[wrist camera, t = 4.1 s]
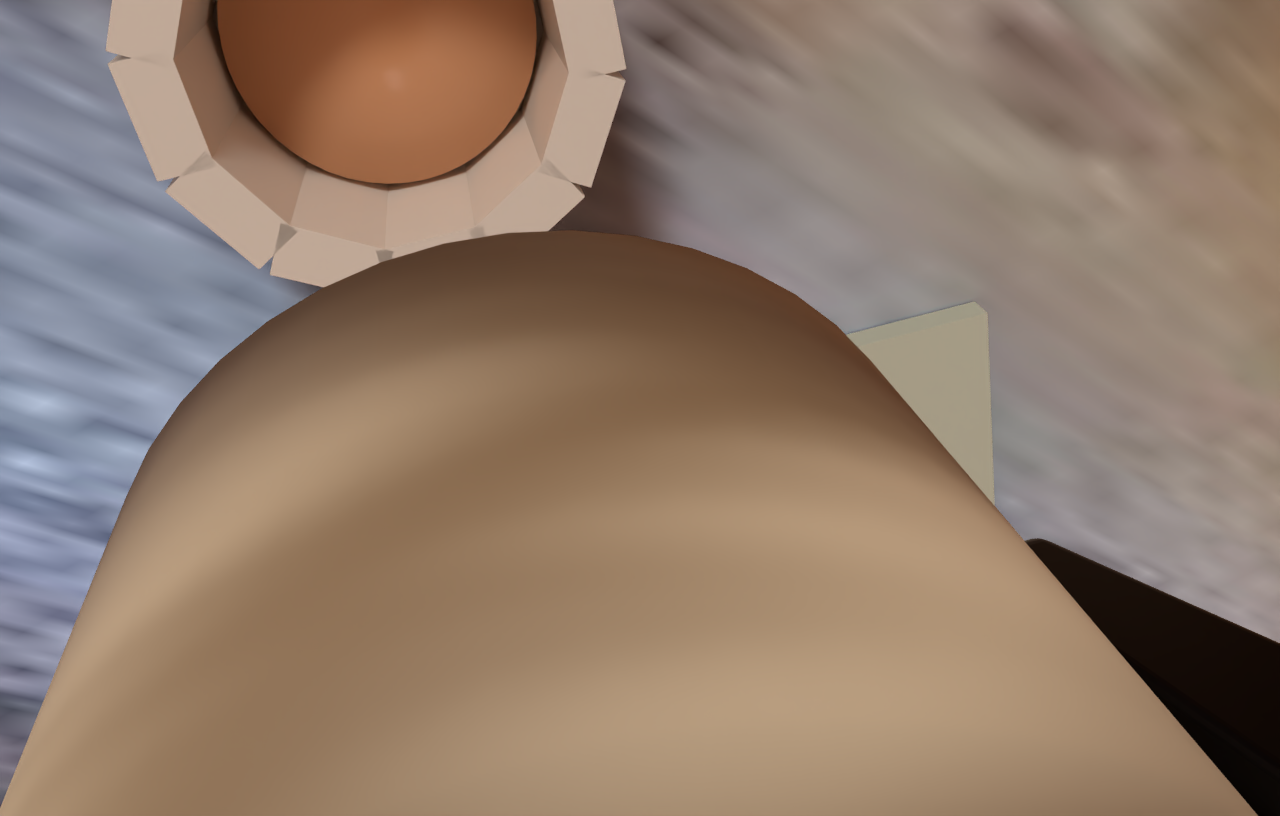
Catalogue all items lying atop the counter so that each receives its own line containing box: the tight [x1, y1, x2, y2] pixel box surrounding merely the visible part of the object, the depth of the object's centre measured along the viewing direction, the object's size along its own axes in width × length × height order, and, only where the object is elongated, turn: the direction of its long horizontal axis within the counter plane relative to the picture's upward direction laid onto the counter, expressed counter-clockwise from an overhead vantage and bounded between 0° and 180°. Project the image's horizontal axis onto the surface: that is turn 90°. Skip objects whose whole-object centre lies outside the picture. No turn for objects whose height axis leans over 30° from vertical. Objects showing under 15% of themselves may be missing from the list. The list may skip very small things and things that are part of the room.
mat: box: [846, 302, 995, 506], centre depth 25 cm, size 12×12×1 cm
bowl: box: [106, 0, 626, 287], centre depth 17 cm, size 7×7×4 cm
